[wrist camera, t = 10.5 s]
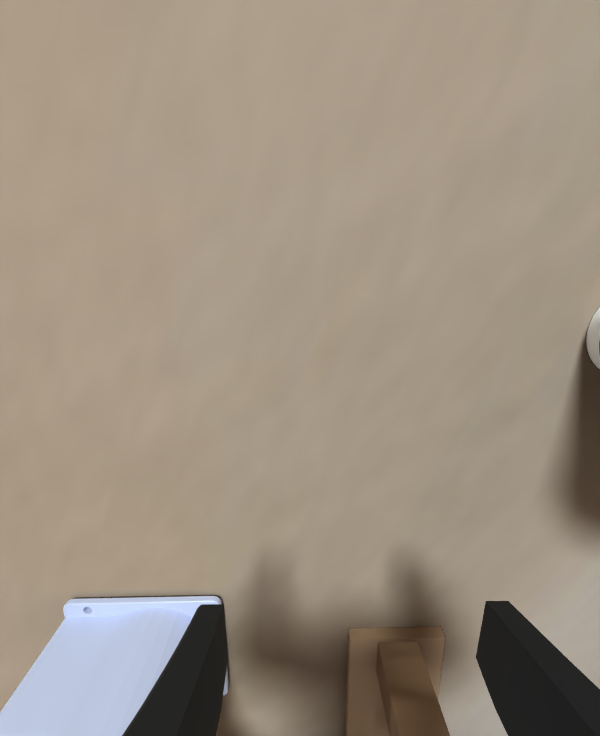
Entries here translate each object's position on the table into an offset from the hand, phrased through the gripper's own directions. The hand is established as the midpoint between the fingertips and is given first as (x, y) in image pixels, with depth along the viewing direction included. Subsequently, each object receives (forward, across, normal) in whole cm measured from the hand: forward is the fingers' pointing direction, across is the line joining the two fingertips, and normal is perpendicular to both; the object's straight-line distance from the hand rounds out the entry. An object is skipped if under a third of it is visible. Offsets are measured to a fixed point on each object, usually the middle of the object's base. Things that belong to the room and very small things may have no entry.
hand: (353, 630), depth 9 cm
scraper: (+10, -5, +23) cm, 26 cm away
